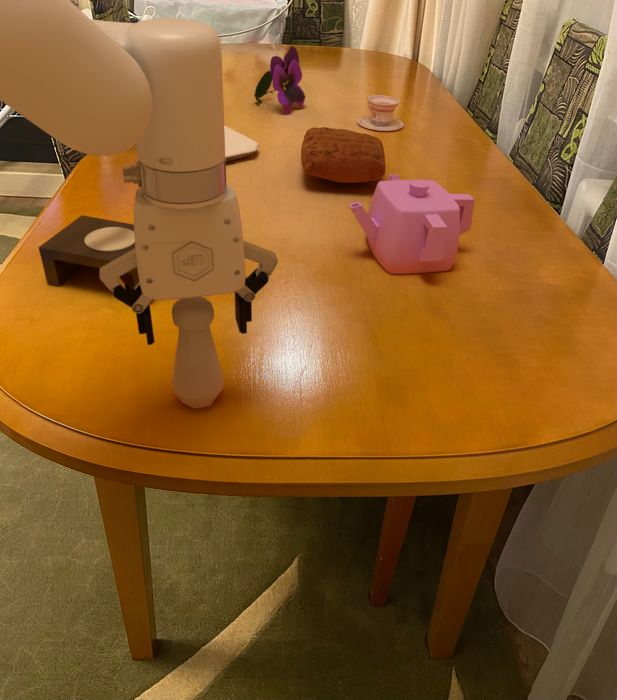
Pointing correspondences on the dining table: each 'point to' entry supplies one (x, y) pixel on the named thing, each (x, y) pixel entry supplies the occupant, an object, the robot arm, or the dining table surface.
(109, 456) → the dining table surface
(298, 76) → the flower
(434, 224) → the teakettle
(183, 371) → the salt shaker
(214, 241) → the robot arm
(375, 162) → the inscribed clay slab
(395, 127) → the teacup
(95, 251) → the shelf
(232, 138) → the plate
